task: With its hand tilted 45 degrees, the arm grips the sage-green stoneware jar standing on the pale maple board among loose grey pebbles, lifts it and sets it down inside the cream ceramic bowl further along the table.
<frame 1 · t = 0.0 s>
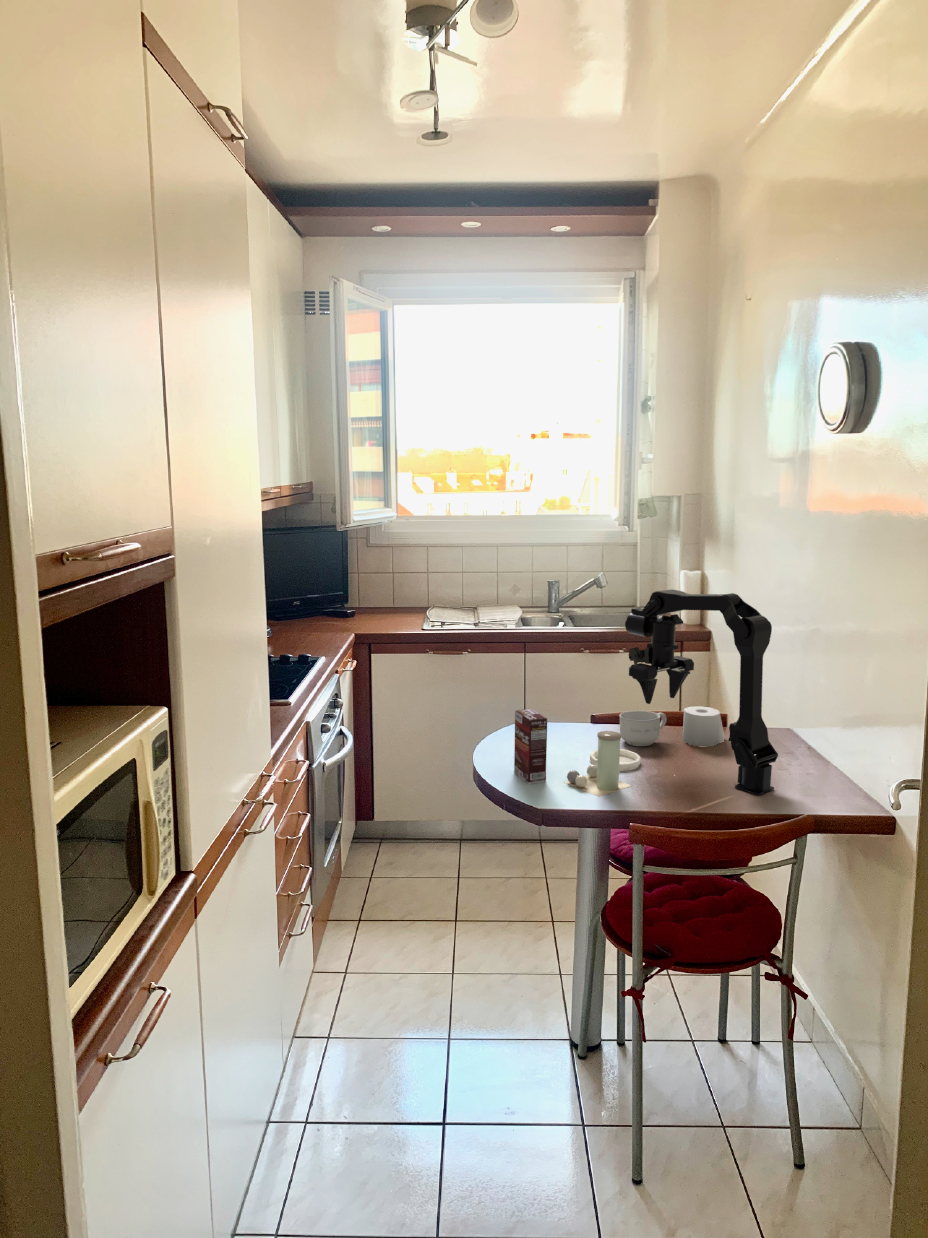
hand: (660, 700, 222), 15 cm above the table, tool pointing down, fingers open, 9 cm apart
board: (597, 785, 203), on the table
toilet tissue: (704, 742, 237), on the table
pebble c: (581, 787, 201), resting on board
bowl: (614, 763, 218), on the table
jar: (607, 786, 202), resting on board
supplement box: (529, 779, 208), on the table
pebble b: (573, 782, 204), resting on board
pebble a: (592, 777, 208), resting on board
teacup: (643, 743, 235), on the table
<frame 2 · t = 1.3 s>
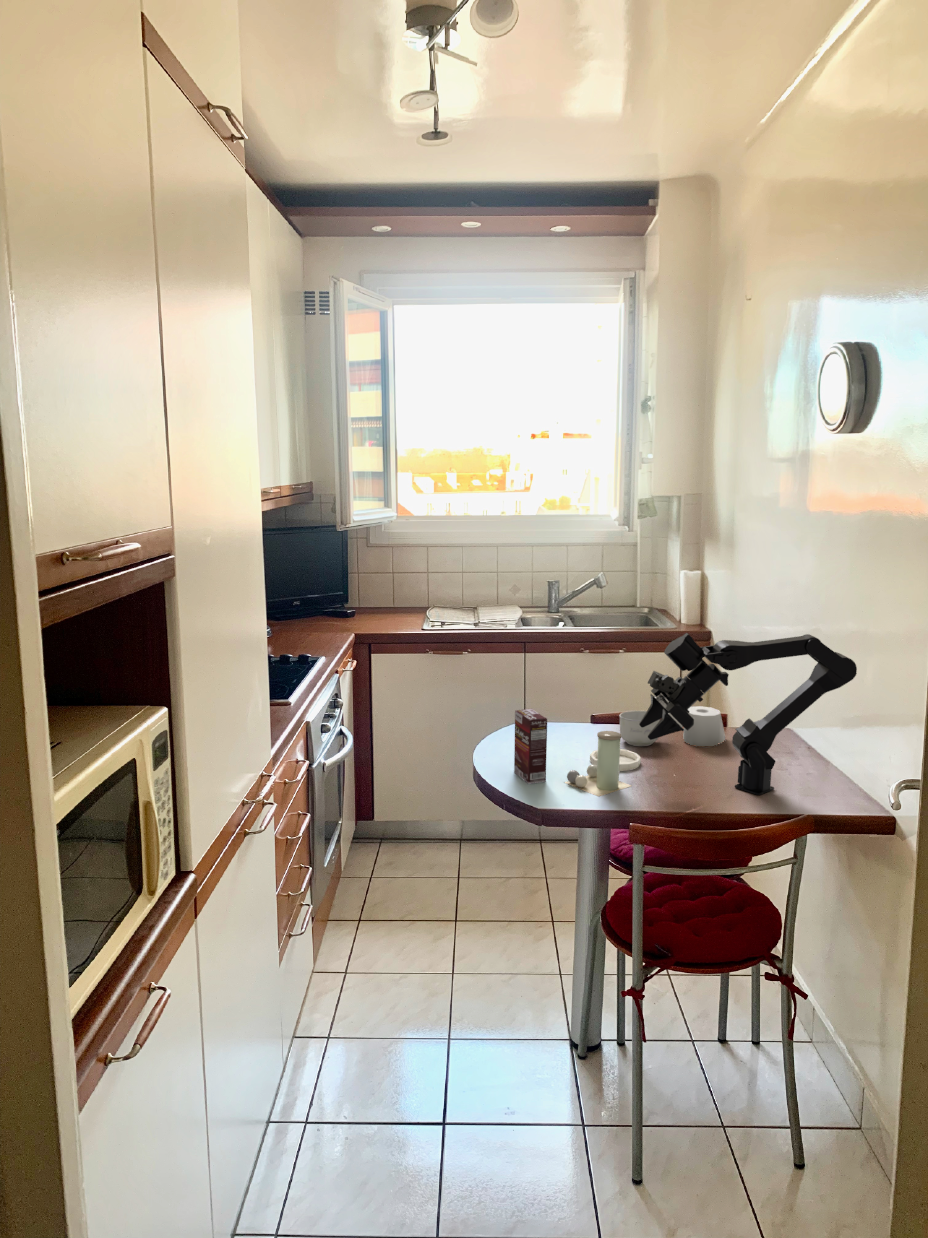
hand: (644, 732, 200), 13 cm above the table, tool tilted 45°, fingers open, 9 cm apart
nothing on the table moved.
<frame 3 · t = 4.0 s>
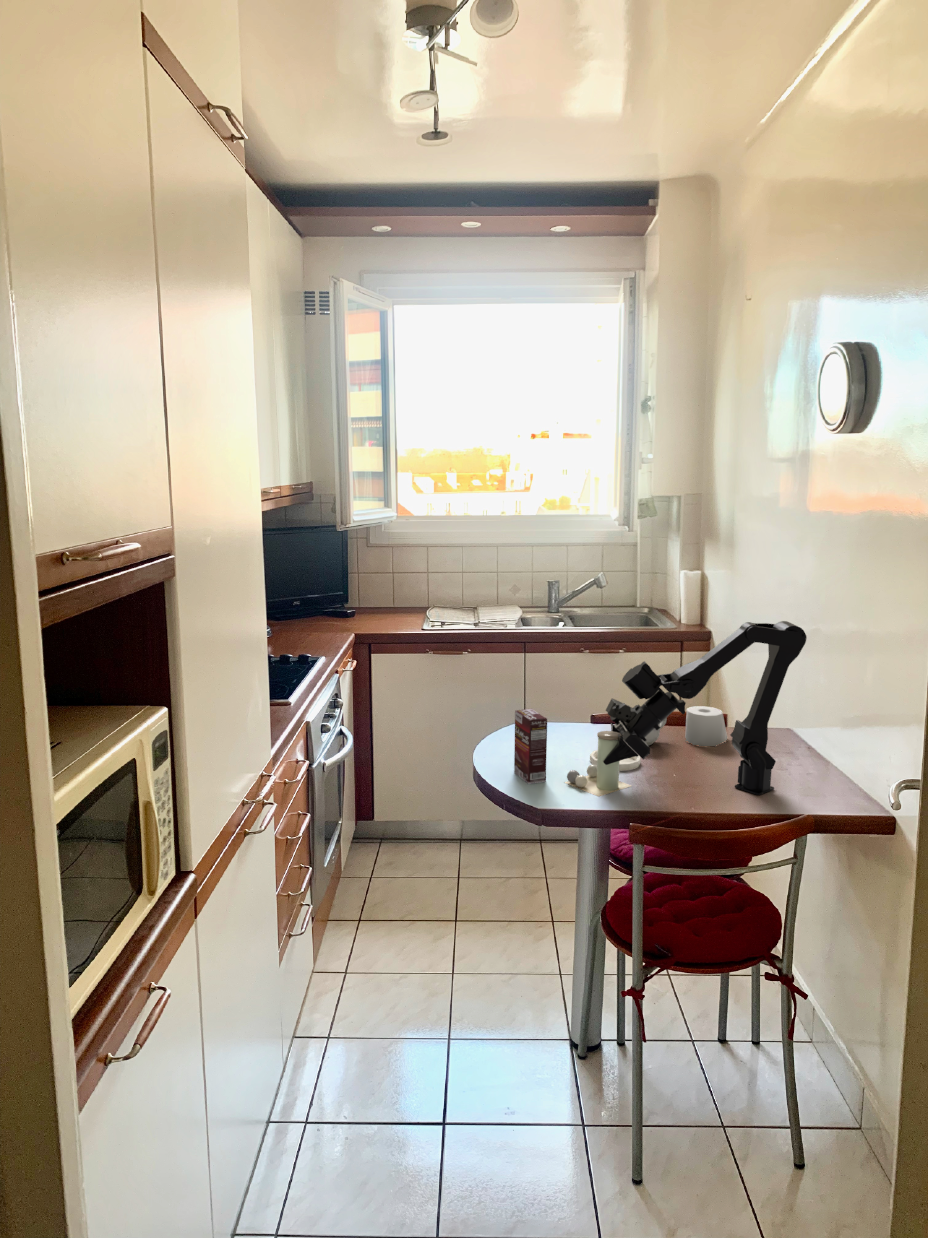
hand: (602, 759, 201), 7 cm above the table, tool tilted 45°, fingers closed on jar, 5 cm apart
jar: (607, 786, 202), resting on board, touching gripper
when the fingers open (8 cm above the table, at t = 7.7 s): jar drops 1 cm, resting on bowl.
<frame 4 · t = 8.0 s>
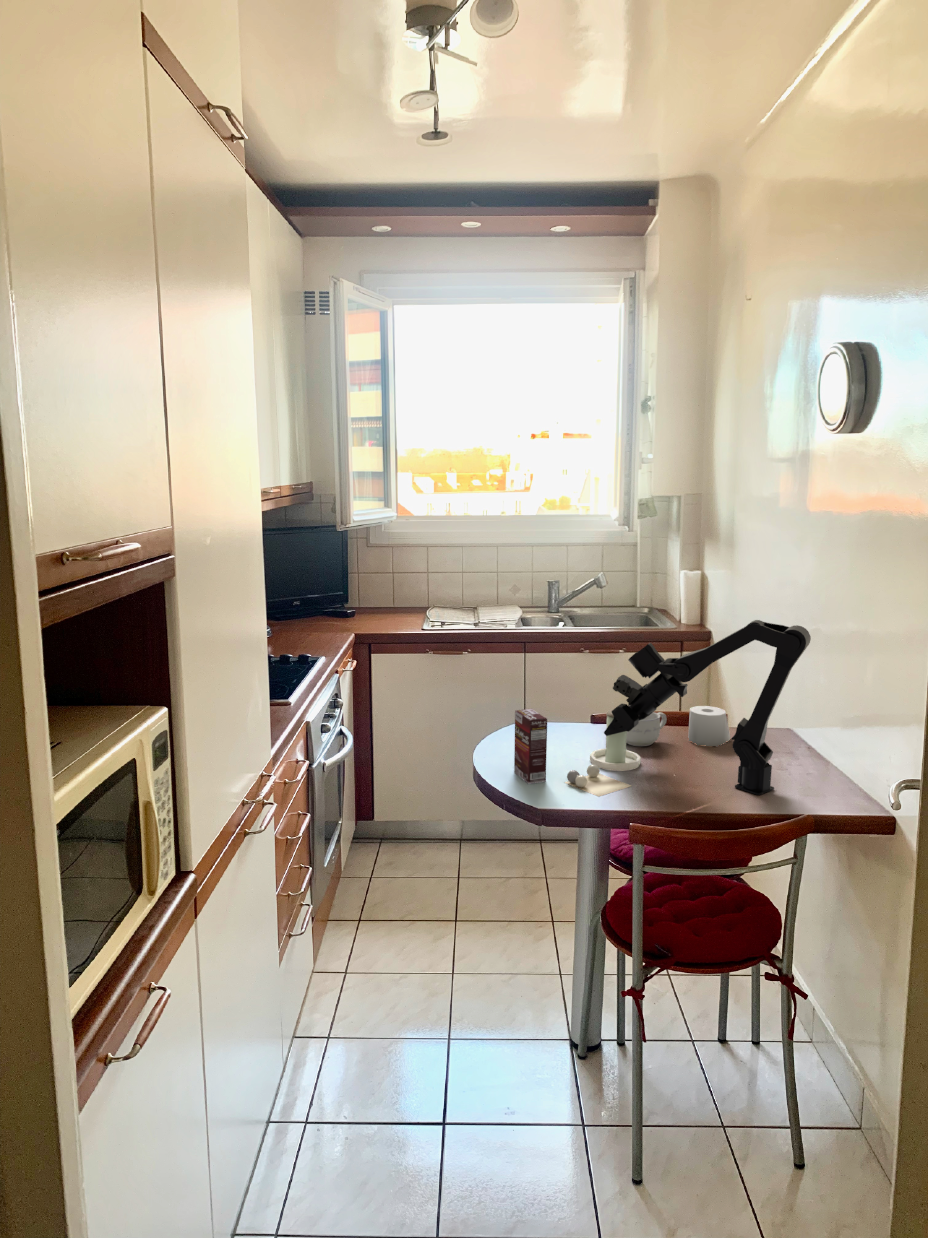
hand: (610, 729, 218), 9 cm above the table, tool tilted 45°, fingers open, 8 cm apart
jar: (615, 761, 218), point 1 cm above the table, touching bowl
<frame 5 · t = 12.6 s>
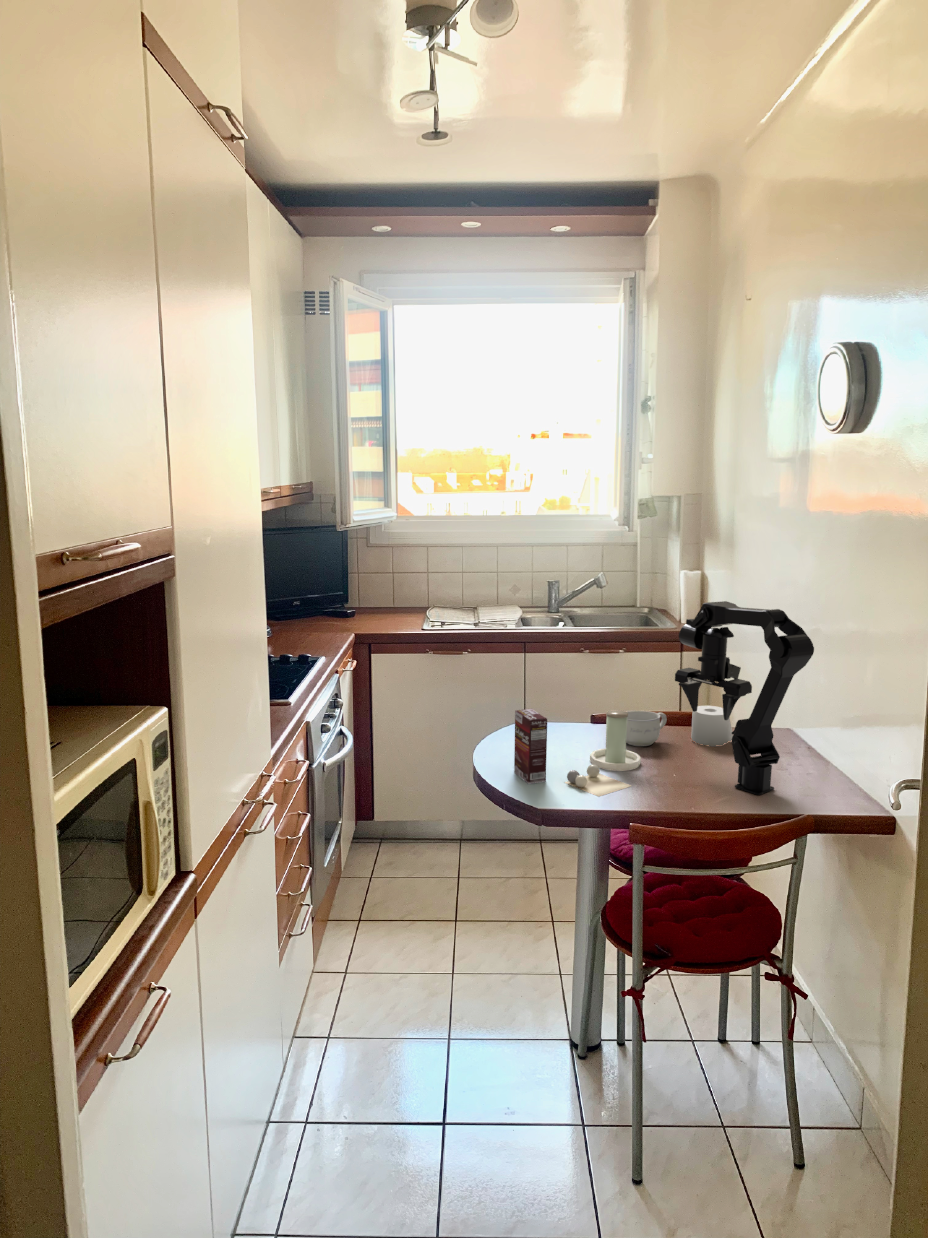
hand: (710, 715, 215), 13 cm above the table, tool pointing down, fingers open, 9 cm apart
at the end: jar inside the target area on the bowl (0.1 cm from its centre), point 0.6 cm above the bowl's base; jar tilted 0°; the gripper is holding nothing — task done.
